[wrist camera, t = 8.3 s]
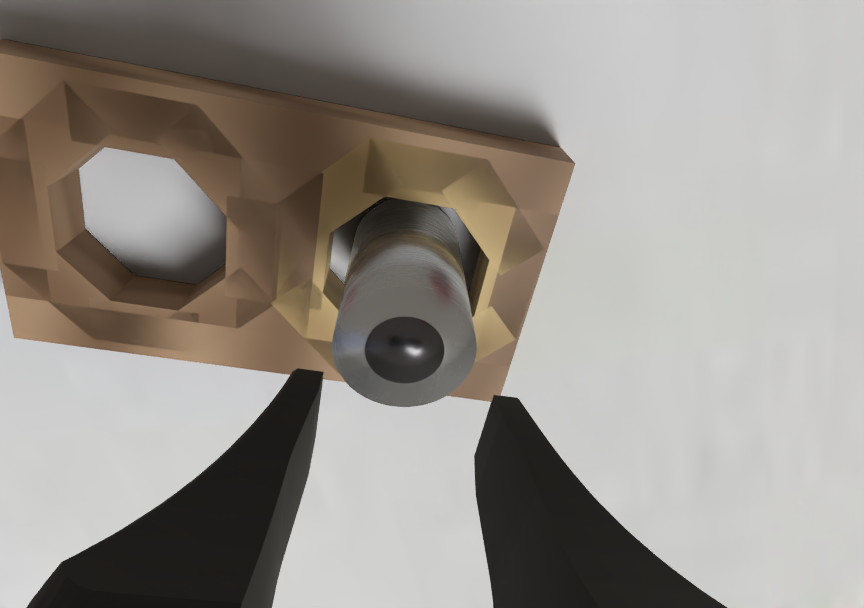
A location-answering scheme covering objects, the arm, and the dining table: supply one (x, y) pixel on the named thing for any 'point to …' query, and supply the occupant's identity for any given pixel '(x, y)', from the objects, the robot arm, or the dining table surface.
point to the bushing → (404, 308)
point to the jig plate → (249, 212)
